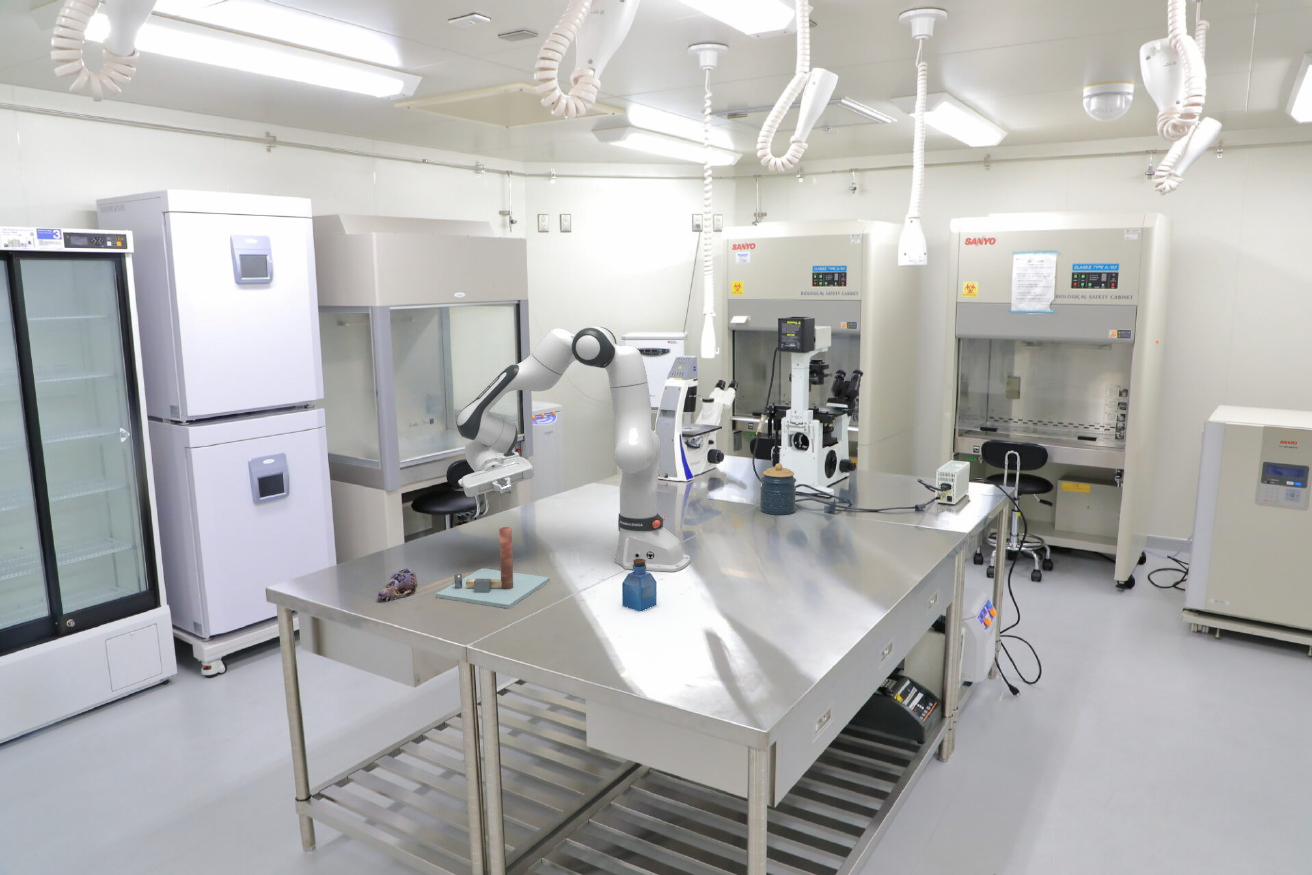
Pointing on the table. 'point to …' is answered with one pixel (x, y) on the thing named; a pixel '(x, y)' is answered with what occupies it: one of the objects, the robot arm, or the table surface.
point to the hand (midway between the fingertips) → (506, 489)
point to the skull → (399, 584)
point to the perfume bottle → (639, 588)
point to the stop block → (482, 585)
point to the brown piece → (502, 562)
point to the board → (495, 589)
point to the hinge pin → (458, 581)
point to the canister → (778, 491)
